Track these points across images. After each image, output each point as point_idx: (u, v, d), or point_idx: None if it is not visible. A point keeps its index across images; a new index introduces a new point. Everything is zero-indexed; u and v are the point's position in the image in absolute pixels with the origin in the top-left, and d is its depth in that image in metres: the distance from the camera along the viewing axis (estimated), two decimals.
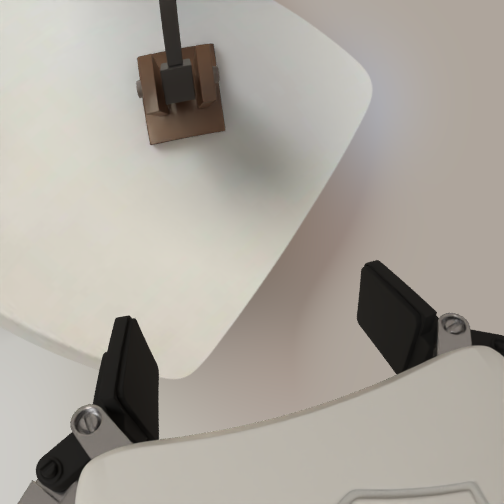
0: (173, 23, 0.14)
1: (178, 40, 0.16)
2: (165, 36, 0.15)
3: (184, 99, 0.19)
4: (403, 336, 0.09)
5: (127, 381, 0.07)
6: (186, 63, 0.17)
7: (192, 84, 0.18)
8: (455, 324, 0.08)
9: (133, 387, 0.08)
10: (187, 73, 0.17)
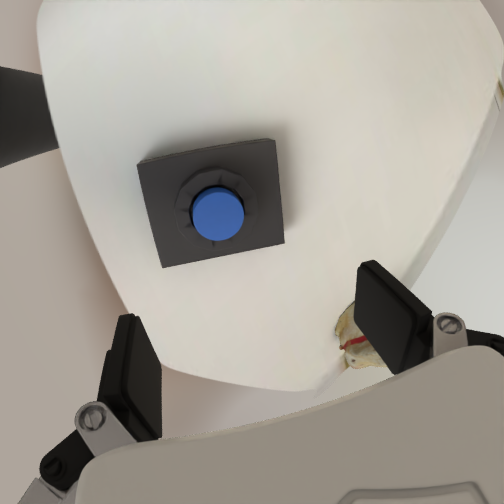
0: None
1: None
2: None
3: None
4: (399, 335, 0.09)
5: (131, 378, 0.08)
6: None
7: None
8: (450, 323, 0.08)
9: (137, 384, 0.08)
10: None
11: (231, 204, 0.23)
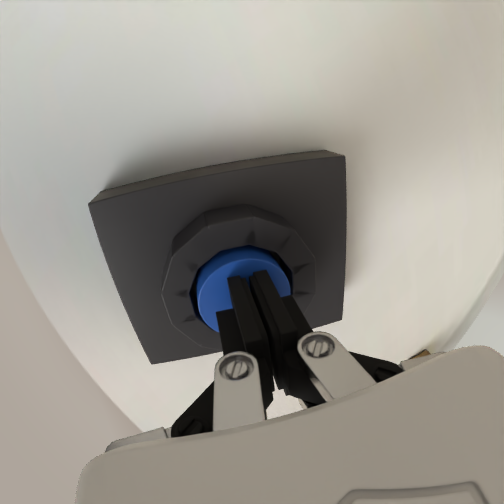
0: None
1: None
2: None
3: None
4: (272, 350, 0.09)
5: None
6: None
7: None
8: (317, 343, 0.08)
9: None
10: None
11: None
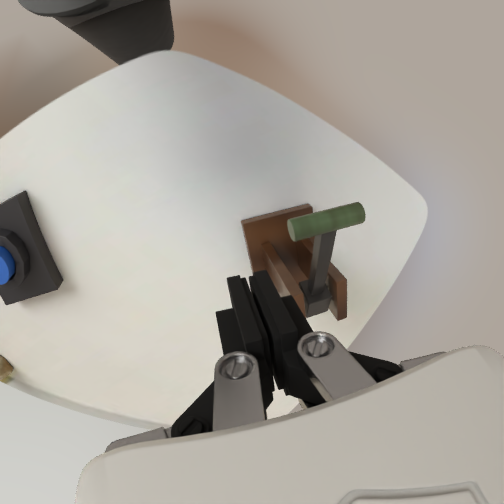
0: (324, 272, 0.22)
1: (324, 280, 0.23)
2: (315, 280, 0.23)
3: (320, 312, 0.27)
4: (272, 350, 0.09)
5: None
6: (325, 290, 0.25)
7: (328, 305, 0.26)
8: (317, 343, 0.08)
9: None
10: (327, 301, 0.25)
11: (4, 276, 0.23)
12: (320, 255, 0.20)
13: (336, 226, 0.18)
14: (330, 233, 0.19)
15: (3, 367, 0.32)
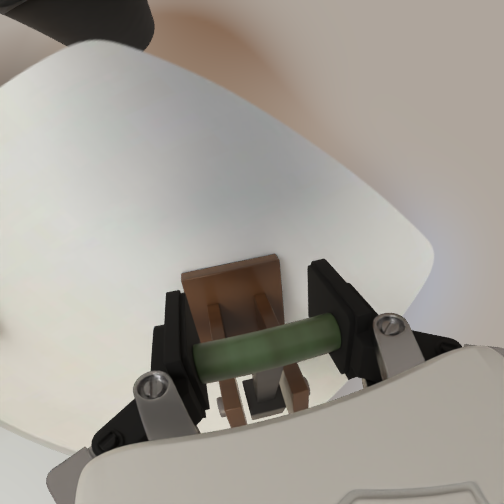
0: (271, 390, 0.14)
1: (274, 394, 0.15)
2: (259, 396, 0.14)
3: None
4: (341, 334, 0.09)
5: (188, 347, 0.09)
6: (278, 397, 0.16)
7: (282, 410, 0.17)
8: (391, 324, 0.08)
9: (191, 354, 0.09)
10: (280, 409, 0.16)
11: None
12: (259, 383, 0.12)
13: (281, 364, 0.09)
14: None
15: None
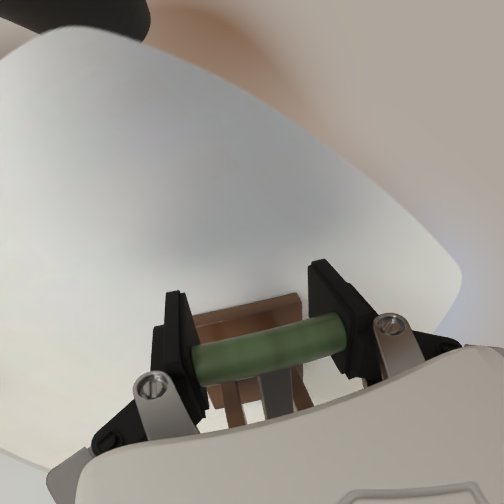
0: None
1: None
2: None
3: None
4: None
5: (188, 347, 0.09)
6: None
7: None
8: (391, 323, 0.08)
9: None
10: None
11: None
12: (269, 413, 0.10)
13: (284, 360, 0.09)
14: (276, 374, 0.09)
15: None
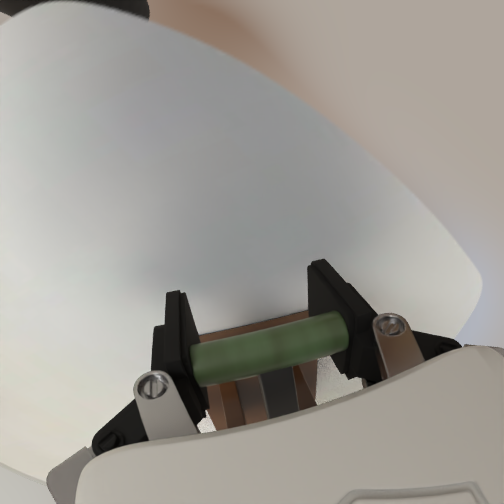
0: None
1: None
2: None
3: None
4: None
5: (188, 347, 0.09)
6: None
7: None
8: (391, 324, 0.08)
9: None
10: None
11: None
12: None
13: (284, 353, 0.09)
14: (278, 374, 0.09)
15: None
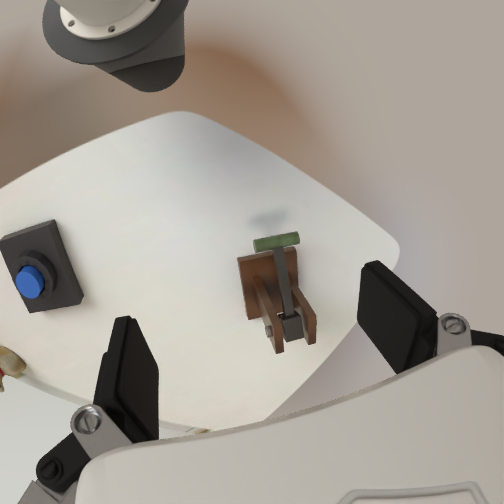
0: (287, 288, 0.33)
1: (291, 299, 0.33)
2: (283, 297, 0.33)
3: (297, 338, 0.33)
4: (403, 336, 0.09)
5: (127, 381, 0.07)
6: (296, 314, 0.33)
7: (302, 328, 0.33)
8: (455, 324, 0.08)
9: (133, 387, 0.08)
10: (299, 321, 0.33)
11: (35, 292, 0.30)
12: (278, 269, 0.32)
13: (280, 240, 0.32)
14: (279, 248, 0.32)
15: (18, 364, 0.38)
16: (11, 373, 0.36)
